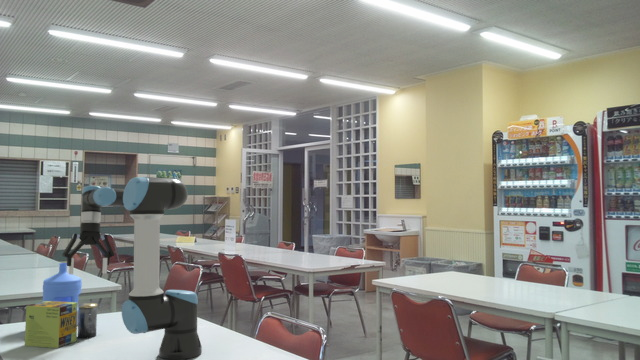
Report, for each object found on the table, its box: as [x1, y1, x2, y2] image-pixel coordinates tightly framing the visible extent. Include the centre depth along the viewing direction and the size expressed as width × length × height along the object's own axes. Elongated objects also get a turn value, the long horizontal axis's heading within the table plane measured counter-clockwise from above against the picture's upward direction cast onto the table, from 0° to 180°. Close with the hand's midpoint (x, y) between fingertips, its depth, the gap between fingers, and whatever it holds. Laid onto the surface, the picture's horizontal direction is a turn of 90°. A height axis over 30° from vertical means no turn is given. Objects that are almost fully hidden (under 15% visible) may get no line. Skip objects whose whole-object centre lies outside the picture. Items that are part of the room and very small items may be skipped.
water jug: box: [42, 262, 83, 327], centre depth 223 cm, size 16×16×28 cm
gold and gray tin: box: [77, 302, 98, 340], centre depth 206 cm, size 7×7×13 cm
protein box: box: [24, 301, 79, 349], centre depth 195 cm, size 10×15×16 cm
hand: (88, 274), depth 204 cm, fingers open, 13 cm apart
